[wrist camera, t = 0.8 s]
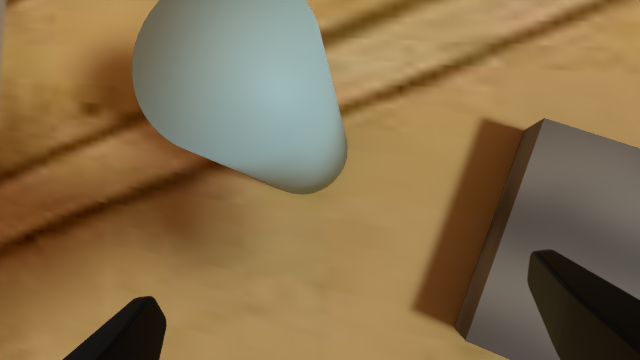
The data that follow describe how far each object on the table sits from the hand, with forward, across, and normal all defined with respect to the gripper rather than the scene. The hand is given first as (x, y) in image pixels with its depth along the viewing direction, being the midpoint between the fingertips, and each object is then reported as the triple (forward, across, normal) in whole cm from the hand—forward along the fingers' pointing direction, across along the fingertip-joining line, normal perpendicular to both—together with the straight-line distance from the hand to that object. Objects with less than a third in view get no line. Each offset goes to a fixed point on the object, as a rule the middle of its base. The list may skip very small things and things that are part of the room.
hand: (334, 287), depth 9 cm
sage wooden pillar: (+15, +2, +3) cm, 15 cm away
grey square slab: (+9, -13, +10) cm, 19 cm away
